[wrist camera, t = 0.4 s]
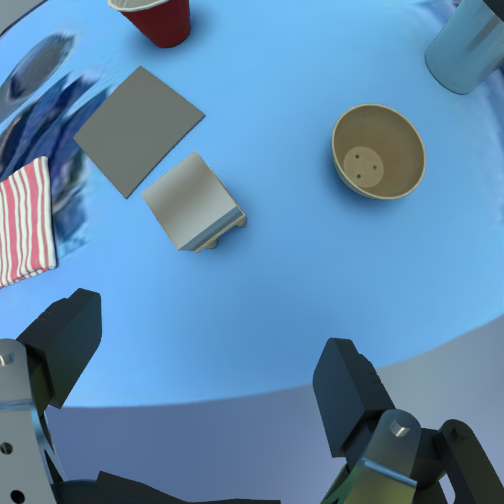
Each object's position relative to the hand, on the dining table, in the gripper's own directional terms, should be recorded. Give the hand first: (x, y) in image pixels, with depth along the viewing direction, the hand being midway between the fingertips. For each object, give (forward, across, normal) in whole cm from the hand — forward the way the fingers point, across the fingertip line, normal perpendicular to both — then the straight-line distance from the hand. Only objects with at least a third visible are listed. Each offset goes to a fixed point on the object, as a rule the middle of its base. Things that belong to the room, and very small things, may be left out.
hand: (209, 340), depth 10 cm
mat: (+30, +15, -8) cm, 34 cm away
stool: (+25, +2, +1) cm, 25 cm away
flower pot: (+25, -14, -8) cm, 30 cm away
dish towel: (+29, +36, +10) cm, 47 cm away
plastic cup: (+35, +14, -23) cm, 44 cm away
